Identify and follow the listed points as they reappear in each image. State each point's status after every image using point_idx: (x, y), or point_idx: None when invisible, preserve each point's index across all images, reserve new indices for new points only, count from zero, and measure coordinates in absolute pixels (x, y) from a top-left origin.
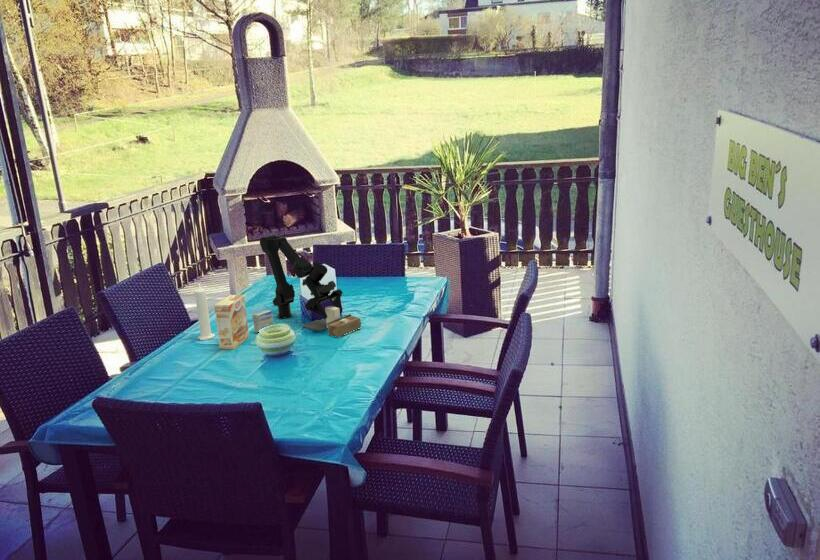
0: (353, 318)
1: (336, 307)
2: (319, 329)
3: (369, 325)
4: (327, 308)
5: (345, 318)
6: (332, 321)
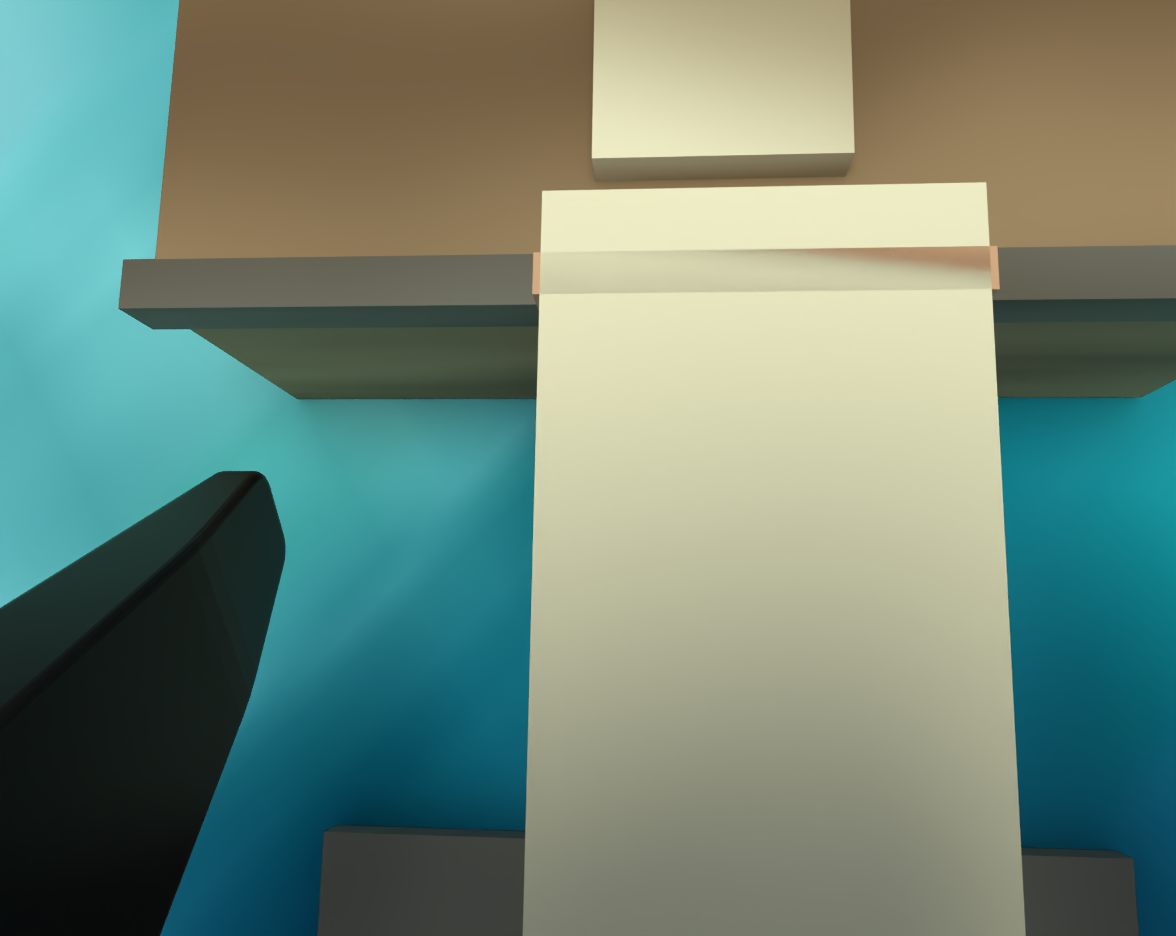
0: (329, 18)
1: (545, 447)
2: (1061, 925)
3: (42, 81)
4: (1015, 886)
5: (465, 247)
6: (1124, 251)
